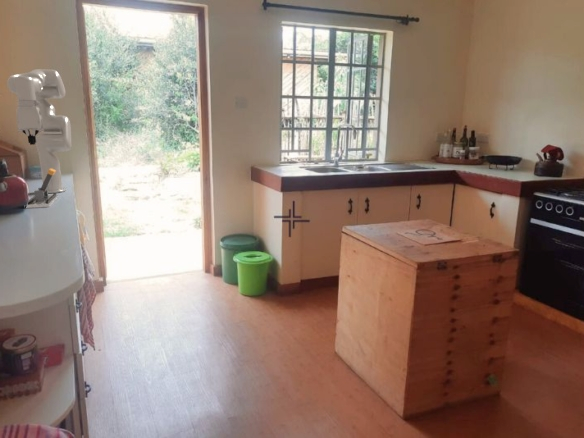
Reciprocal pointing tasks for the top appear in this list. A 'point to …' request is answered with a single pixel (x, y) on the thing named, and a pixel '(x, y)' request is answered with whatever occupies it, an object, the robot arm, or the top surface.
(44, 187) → the lever
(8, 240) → the top surface
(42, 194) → the panel
